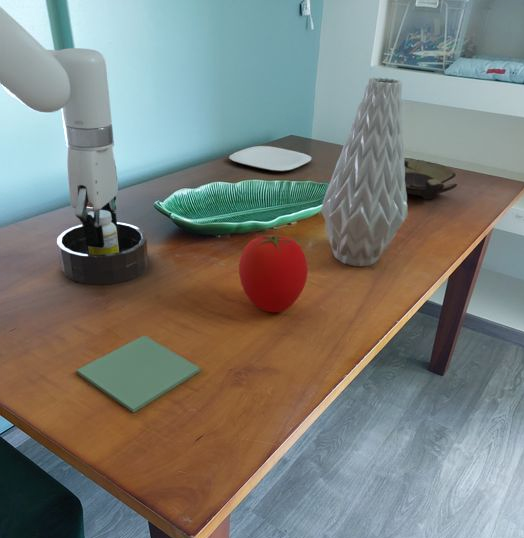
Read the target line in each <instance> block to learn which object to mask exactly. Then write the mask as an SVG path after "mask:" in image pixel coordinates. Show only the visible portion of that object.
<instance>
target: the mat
mask: <svg viewBox="0 0 524 538" xmlns="http://www.w3.org/2000/svg"><path fill="white" fill-rule="evenodd" d="M200 372H201V367H199V366H198V365H196V364H195V363H193V362H191V361H190V360H188V359H186V358H184V357H183V356H181V355H180V354H177V353H176V352H174V351H173V350H171V349H169V348H167V347H166V346H164V345H162V344H161V343H158V342H157V341H155V340H154V339H152V338H150V337H148V336H147V335H141V336H140V337H138V338H135V339H134V340H132V341H130V342H128V343H126V344H124V345H123V346H120V347H118V348H117V349H114V350H112V351H111V352H108V353H107V354H105V355H103V356H101V357H99V358H96V359H95V360H93V361H91V362H89V363H86V364H85V365H82V366H81V367H80V368H77V369H76V373H77V374H78V375H79V376H81V377H82V378H83V379H85V380H86V381H88V382H89V383H90V384H92V385H93V386H95V387H96V388H97V389H99V390H100V391H101V392H103V393H105V394H106V395H107V396H109V397H110V398H112V399H113V400H114V401H116V402H118V403H119V404H120V405H122V406H123V407H124V408H126V409H127V410H129V411H130V412H131V413H135V412H137V411H139V410H140V409H142V408H144V407H145V406H147V405H148V404H150V403H151V402H153V401H155V400H157V399H158V398H160V397H162V396H163V395H165V394H166V393H168V392H169V391H172V390H173V389H174V388H176V387H177V386H179V385H181V384H183V383H184V382H185V381H187V380H189V379H190V378H192V377H193V376H195V375H196V374H199V373H200Z"/></svg>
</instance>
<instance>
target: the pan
mask: <svg viewBox="0 0 524 538" xmlns="http://www.w3.org/2000/svg"><path fill="white" fill-rule="evenodd" d="M117 228H118V233H117V238H118V247H119V253H113V254H104V255H90V254H89V248H88V246H87V245H86V240H85V233H84V226H82V224H78V225H76V226H73V227H70V228H68V229H67V230H64V231H62V232H61V234H60V235H58V237H57V239H56V246H57V252H58V257H59V262H60V269H61V271H62V273H63V275H64V276H65V277H66V278H68V279H69V280H71V281H73V282H76V283H80V284H84V285H92V286H108V285H116V284H121V283H122V284H123V283H126V282H129V281H131V280H134V279H137V278H138V277H140V276H141V275H142V274H143V273H145V272H146V271H147V269H148V266H149V253H148V240H147V235H146V233H145V232H144V230H143V229H142V228H140V227H139V226H135V225H133V224H130V223H125V222H118V221H117Z"/></svg>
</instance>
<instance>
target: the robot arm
mask: <svg viewBox="0 0 524 538" xmlns="http://www.w3.org/2000/svg"><path fill="white" fill-rule="evenodd" d="M106 63H107V62H106V58H105V57H104V55H103V54H102V53H101V52H100V51H98V50H95V49H91V48H80V47H79V48H77V47H75V48H74V47H71V48H63V49H59V50H57V49H46V48H45V47H44V46H43V45H42V44H41V43H40V42H39V41H38V40H37V39H36V38H35V37H34V36H33V35H32V34H31V33H30V32H29V31H27V30H26V29H25V28H24V27H23V26H22V25H21V24H20V23H19V22H18V21H17V20H16V19H14V17H12V16H11V15H10V14H9V13H8V12H7V11H6V10H5V9H3V8H2V7H1V6H0V85H1V86H2V88H3V89H4V90H5V91H6V93H8V95H10V96H11V97H13V99H15V100H17V101H18V102H20V103H22V104H23V105H24V106H25V107H27V108H28V109H30V110H32V111H34V112H36V113H40V114H52V113H56V112H58V111H60V110H61V117H62V118H61V119H62V123H63V124H62V125H63V130H64V137H65V144H66V147H67V149H66V172H67V173H66V174H67V186H68V194H69V201H70V206H71V207H72V209H75V211H74V215H75V217H76V218H77V219H79V221H80V222H81V225H82V226H84V233H85V240H86V245H87V246H91V247H99V248H103V247H104V238H103V230H102V226H101V225H100V210H106V211H109V212H110V213H111V218H112V220H111V222H112V223H113V224H114V225H115V226H116V229H117V233H118V228H117V222H118V220H117V205H116V201H117V195H118V192H119V183H118V181H119V179H118V173H117V165H116V158H115V154H114V149H113V148H114V146H115V140H114V131H113V122H112V121H113V120H112V111H111V101H110V92H109V83H108V73H107V72H108V71H107V64H106ZM88 205H92V207H90V206H88ZM89 212H94V218H93V217H92V216H91V215H88V213H89Z"/></svg>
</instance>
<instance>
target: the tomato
mask: <svg viewBox="0 0 524 538" xmlns="http://www.w3.org/2000/svg"><path fill="white" fill-rule="evenodd" d="M280 234H281V232H279V233H277V234H267V235H264V234H263V235H262V234H259V237H256V238H254V239H251V240H250V241H249V242H248V243H247V244H246V246H244V248H243V250H242V252H241V254H240V258H239V263H238V275H239V280H240V284H241V287H242V290H243V292H244V294H245V295H246V297H247V298H248V300H249V301H250V302H251V303H252V304H253V305H254V306H255V307H256V308H258V309H260V310H262V311H265V312H268V313H281V312H284V311H285V310H287V309H289V308H291V307H292V306H293V305H294V304H295V302H296V301H297V300H298V299H299V297H300V296H301V294H302V293H303V290H304V288H305V286H306V283H307V278H308V263H307V259H306V256H305V253H304V251H303V249H302V247H301V246H300V245H299V243H297V242H296V241H295V240H294V239H292V238H290V237H287V236H284V235H280Z"/></svg>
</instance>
